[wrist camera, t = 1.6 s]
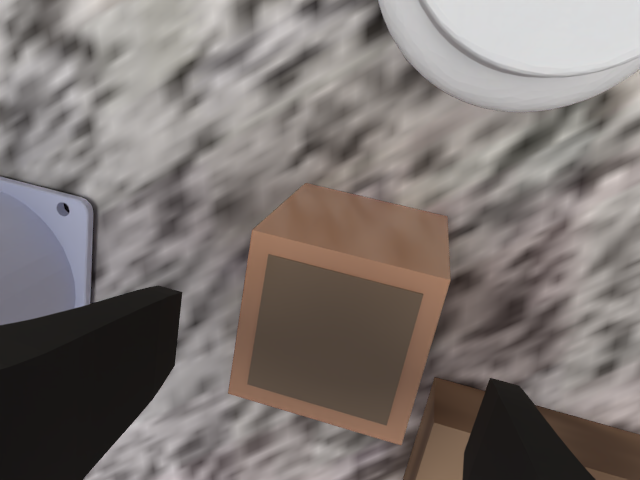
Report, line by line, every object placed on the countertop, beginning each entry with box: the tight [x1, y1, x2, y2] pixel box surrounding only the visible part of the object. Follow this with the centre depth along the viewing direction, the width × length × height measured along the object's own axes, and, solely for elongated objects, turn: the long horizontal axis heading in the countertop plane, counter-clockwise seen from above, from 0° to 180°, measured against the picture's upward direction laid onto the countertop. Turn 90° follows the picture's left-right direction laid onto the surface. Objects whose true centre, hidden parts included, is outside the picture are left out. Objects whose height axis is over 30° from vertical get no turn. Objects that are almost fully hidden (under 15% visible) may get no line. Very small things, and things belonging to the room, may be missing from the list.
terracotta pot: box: [228, 183, 451, 445], centre depth 16 cm, size 5×5×6 cm
